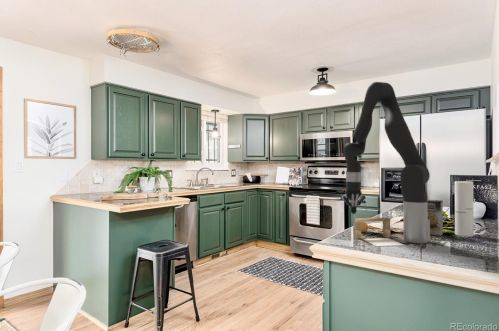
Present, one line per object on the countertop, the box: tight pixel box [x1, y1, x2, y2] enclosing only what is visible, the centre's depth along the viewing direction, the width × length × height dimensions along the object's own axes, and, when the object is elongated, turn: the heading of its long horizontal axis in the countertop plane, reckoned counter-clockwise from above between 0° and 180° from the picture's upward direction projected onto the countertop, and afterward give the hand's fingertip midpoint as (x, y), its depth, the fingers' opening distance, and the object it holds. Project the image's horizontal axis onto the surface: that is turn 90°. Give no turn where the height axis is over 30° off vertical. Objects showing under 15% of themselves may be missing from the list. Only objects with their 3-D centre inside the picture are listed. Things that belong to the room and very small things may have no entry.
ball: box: [361, 222, 369, 233], centre depth 149 cm, size 5×5×5 cm
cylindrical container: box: [454, 180, 475, 238], centre depth 142 cm, size 7×7×25 cm
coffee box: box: [427, 199, 444, 236], centre depth 145 cm, size 9×6×16 cm
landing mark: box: [362, 237, 405, 247], centre depth 129 cm, size 12×12×1 cm
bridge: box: [353, 217, 391, 240], centre depth 138 cm, size 3×16×9 cm, turn 96°
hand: (353, 213), depth 159 cm, fingers closed
